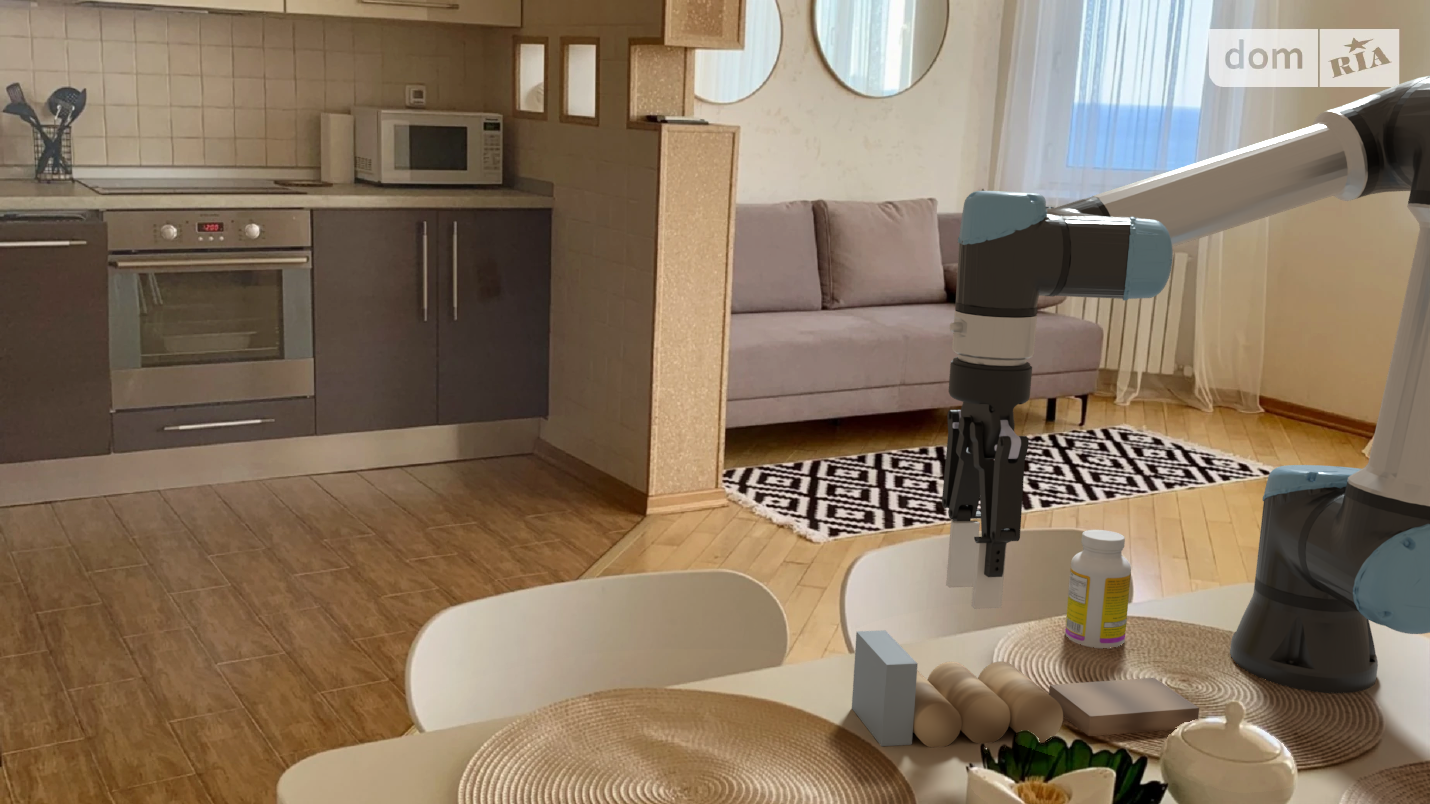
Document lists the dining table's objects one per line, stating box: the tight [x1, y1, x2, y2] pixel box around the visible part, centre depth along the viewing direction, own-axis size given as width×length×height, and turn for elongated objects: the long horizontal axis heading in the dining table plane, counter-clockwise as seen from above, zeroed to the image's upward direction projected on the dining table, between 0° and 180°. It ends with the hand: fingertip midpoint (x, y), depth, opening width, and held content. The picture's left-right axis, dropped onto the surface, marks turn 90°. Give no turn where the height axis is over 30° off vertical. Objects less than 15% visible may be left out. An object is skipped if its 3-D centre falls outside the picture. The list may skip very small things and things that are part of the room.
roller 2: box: [927, 661, 1010, 745], centre depth 137 cm, size 9×5×5 cm, turn 14°
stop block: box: [851, 629, 918, 747], centre depth 135 cm, size 3×9×8 cm, turn 12°
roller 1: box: [913, 669, 962, 748], centre depth 136 cm, size 10×4×4 cm
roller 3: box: [977, 660, 1064, 743], centre depth 137 cm, size 9×5×5 cm
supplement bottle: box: [1064, 529, 1132, 649], centre depth 160 cm, size 7×7×13 cm
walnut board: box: [1048, 677, 1200, 737], centre depth 141 cm, size 12×8×2 cm, turn 105°
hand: (973, 595), depth 135 cm, fingers open, 6 cm apart
